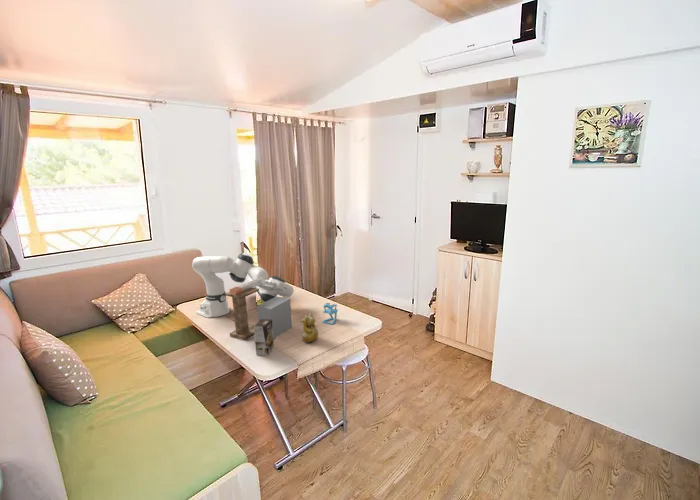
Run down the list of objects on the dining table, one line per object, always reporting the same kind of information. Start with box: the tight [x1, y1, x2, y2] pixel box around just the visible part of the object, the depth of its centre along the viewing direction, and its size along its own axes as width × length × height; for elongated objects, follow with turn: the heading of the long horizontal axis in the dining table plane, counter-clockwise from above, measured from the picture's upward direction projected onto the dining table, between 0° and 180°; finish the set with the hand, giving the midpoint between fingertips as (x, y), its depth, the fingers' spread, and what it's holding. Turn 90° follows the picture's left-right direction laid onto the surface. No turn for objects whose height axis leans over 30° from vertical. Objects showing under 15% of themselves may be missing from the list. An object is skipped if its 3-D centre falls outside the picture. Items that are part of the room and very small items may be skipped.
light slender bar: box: [229, 277, 265, 296], centre depth 203 cm, size 4×24×3 cm, turn 152°
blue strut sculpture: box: [321, 302, 339, 326], centre depth 217 cm, size 8×8×12 cm
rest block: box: [256, 295, 293, 339], centre depth 205 cm, size 10×17×18 cm, turn 152°
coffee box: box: [253, 319, 275, 356], centre depth 183 cm, size 9×6×16 cm
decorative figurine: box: [300, 312, 319, 344], centre depth 193 cm, size 10×8×15 cm
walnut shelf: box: [225, 287, 259, 342], centre depth 202 cm, size 12×14×26 cm
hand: (262, 281), depth 213 cm, fingers open, 8 cm apart
